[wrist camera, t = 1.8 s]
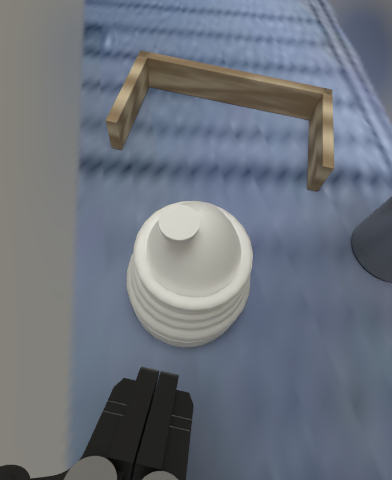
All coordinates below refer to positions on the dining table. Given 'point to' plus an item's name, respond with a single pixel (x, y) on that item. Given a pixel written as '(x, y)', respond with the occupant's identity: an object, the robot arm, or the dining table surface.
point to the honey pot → (189, 273)
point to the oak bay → (229, 101)
